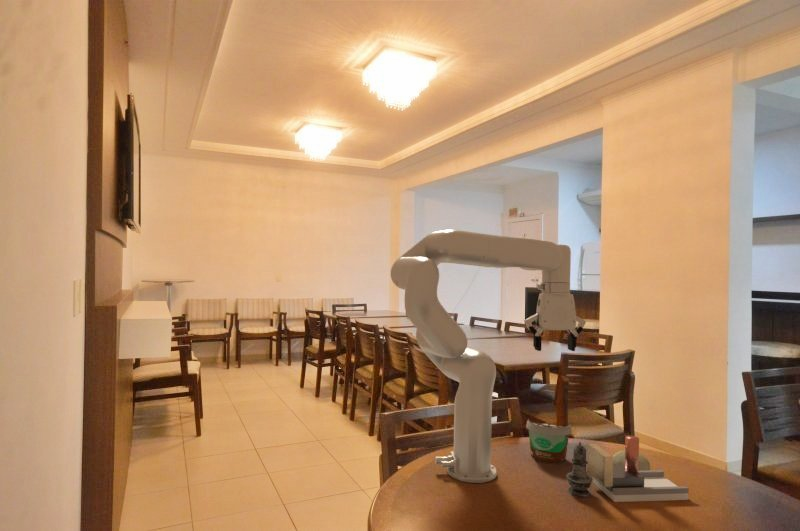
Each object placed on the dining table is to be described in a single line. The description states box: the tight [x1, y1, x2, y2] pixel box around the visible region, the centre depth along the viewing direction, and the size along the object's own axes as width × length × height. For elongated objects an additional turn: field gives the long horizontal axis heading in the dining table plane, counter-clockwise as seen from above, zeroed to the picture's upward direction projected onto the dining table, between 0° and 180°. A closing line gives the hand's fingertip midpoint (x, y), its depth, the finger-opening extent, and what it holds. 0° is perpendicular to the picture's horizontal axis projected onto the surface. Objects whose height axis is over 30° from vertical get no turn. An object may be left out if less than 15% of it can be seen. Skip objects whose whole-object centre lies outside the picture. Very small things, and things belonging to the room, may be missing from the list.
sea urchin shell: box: [612, 449, 651, 471], centre depth 129 cm, size 9×8×8 cm
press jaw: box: [587, 435, 644, 491], centre depth 116 cm, size 10×8×11 cm
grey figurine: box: [565, 441, 593, 499], centre depth 115 cm, size 6×6×12 cm
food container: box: [525, 418, 573, 465], centre depth 134 cm, size 12×6×10 cm, turn 68°
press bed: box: [592, 469, 690, 503], centre depth 116 cm, size 18×10×3 cm, turn 96°
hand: (554, 350), depth 135 cm, fingers open, 9 cm apart
